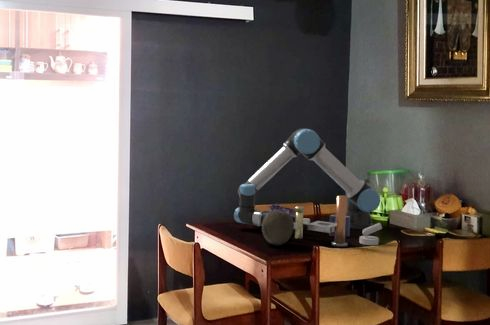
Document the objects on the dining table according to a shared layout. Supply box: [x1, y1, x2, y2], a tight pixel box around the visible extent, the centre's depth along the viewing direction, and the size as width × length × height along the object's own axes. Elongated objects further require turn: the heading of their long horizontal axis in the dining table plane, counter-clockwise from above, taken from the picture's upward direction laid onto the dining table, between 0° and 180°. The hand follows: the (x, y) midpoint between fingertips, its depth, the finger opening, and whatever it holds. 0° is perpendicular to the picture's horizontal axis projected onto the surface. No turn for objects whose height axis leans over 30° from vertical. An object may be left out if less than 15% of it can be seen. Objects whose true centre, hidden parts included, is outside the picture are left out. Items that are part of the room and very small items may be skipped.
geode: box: [268, 202, 296, 216], centre depth 319 cm, size 20×12×10 cm, turn 34°
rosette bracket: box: [306, 195, 348, 248], centre depth 267 cm, size 17×11×22 cm, turn 58°
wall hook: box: [358, 222, 383, 246], centre depth 271 cm, size 9×10×10 cm
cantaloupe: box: [261, 211, 295, 247], centre depth 262 cm, size 14×14×15 cm
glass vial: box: [294, 205, 305, 240], centre depth 277 cm, size 4×4×14 cm
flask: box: [328, 213, 351, 238], centre depth 285 cm, size 10×3×12 cm, turn 74°
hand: (303, 223), depth 276 cm, fingers open, 13 cm apart
